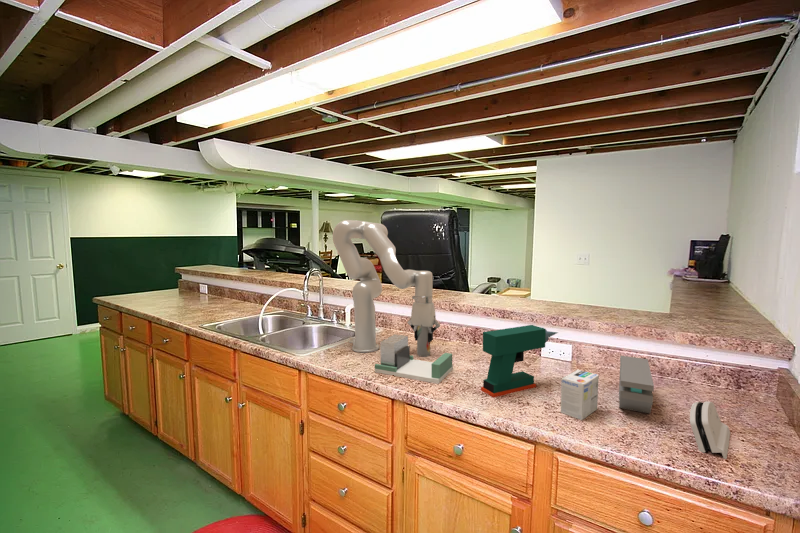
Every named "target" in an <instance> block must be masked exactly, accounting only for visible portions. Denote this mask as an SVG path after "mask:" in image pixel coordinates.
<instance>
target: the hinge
mask: <svg viewBox="0 0 800 533" xmlns="http://www.w3.org/2000/svg"><path fill="white" fill-rule="evenodd" d="M690 407H691V408H690V412H689V424H690V426H691V430H692V433H693V437H694V439H695V442H696V445H697V449H698V451H699V452H700V453H706V452H708V450H709V452H711V453H712V454H714V453H716V454H717V453H720V454H721V455H722V458H723V459H725V460H727V459H728V458H727V457H728V452H729V445H730V439H731V438H730V437H731V431H730V427H729V426H728V425H727V424H726V423H724V422H722V420H721V418H720V416H719V413H718V411H717V408H716V405H715V403H714V402H713V401H708V400H707V401H703V402H702V401H697V402H693V403H692V405H691V406H690Z"/></svg>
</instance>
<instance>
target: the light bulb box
mask: <svg viewBox="0 0 800 533" xmlns="http://www.w3.org/2000/svg"><path fill="white" fill-rule="evenodd" d="M599 376H600V375H599V374H597V373H592V372H588V371H585V370H580V369H575V370H574V371H573V372H571V373H569V374H567V375H565V376H563V377H562V378H561V384H560V385H561V387H560V388H561V389H560V413H561V414H564V415H566V416H569V417H572V418H575V419H576V420H580V421H583V420H585V419H586V418H587V417H588V416H590V415H591V414H593V413H594V412H595V411H596V410H598V401H599V400H598V399H599V378H600V377H599Z"/></svg>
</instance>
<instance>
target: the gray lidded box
mask: <svg viewBox="0 0 800 533" xmlns="http://www.w3.org/2000/svg"><path fill="white" fill-rule="evenodd" d="M619 363H620V364H619V365H620V366H619V383H618V384H619V385H618V388H619V389H618V405H619V406H618V408H619V409H624V410H630V411H634V412H639V413H645V414H651V413H652V412H651V411H652V409H653V408H652V407H653V403H654V402H653V401H654V394H653V392H654V391H655V390H654V389H655V385H654V380H653V376H652V372H651V368H650V363H649V359H648V358H641V357H633V356H627V355H620V357H619Z"/></svg>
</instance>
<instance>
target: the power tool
mask: <svg viewBox="0 0 800 533" xmlns="http://www.w3.org/2000/svg"><path fill="white" fill-rule="evenodd" d="M556 334H559V332H557V331H551V330H550V331H549V330H547V329H546V328H545V327H541V326H537V325H534V324H527V325H522V326H521V325H520V326H515V327H509V328H503V329H501V328H500V329H495V330H487V331H482V352H484V353H487V354H489V355H491V358H490V362H489V366H488V372H487V375H486V376H487V377H486V379H483V380H482V381H483V382H482V383H483V386H481V387H480V391H481V392H484V393H485V394H486V395H488V396H490V397H491V398H497V397H503V396H506V395H510V394H515V393H518V392H522V391H526V390H531V389H534V388H537V384H536V383H535V376H534V375H532V374H530V373H527V372H525V371H523V370H522V371H518V372H514V367H515V363H520V362H524V357H525V356H524V354H525V352H527V351H533V350H538V349H544V348H546V343H547V342H548V341H549V339H550V338H551V337H552V336H555V335H556Z"/></svg>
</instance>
